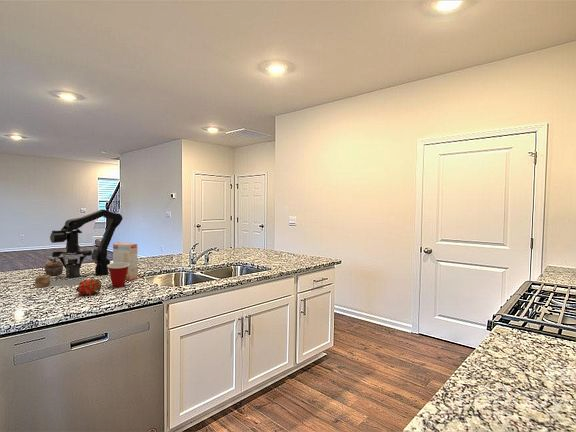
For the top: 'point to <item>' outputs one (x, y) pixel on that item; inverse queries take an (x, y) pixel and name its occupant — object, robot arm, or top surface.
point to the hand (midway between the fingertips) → (72, 268)
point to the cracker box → (126, 257)
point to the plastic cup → (118, 273)
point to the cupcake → (53, 267)
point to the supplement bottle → (72, 268)
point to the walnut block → (42, 281)
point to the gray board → (64, 283)
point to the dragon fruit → (88, 287)
